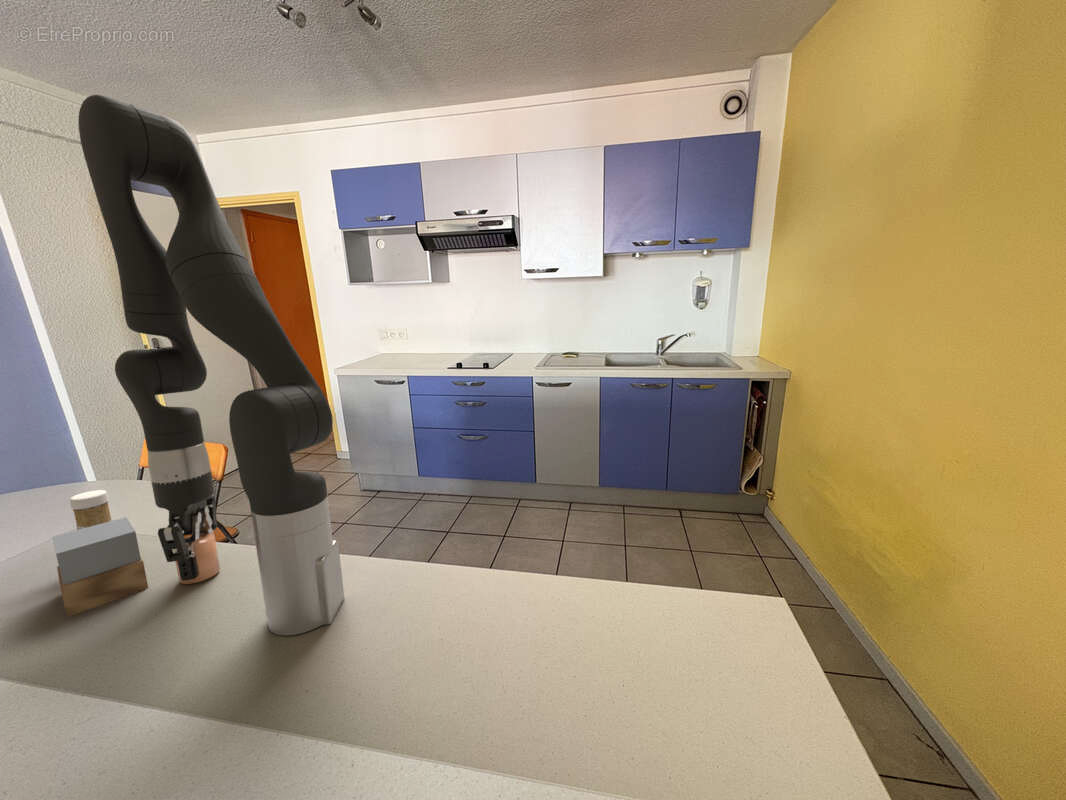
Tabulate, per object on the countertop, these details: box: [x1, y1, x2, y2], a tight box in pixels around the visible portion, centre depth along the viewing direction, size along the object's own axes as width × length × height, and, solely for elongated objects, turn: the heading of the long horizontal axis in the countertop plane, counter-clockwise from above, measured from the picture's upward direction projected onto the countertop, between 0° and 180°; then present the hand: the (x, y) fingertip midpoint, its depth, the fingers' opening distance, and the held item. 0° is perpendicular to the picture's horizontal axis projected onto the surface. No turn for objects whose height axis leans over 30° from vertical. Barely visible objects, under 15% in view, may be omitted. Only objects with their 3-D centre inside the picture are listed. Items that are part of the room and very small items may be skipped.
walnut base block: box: [56, 555, 149, 618], centre depth 68 cm, size 9×9×5 cm
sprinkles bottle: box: [69, 489, 113, 530], centre depth 75 cm, size 5×5×13 cm
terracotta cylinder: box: [172, 533, 221, 585], centre depth 71 cm, size 6×6×6 cm
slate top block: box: [52, 517, 142, 585], centre depth 68 cm, size 8×8×5 cm
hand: (198, 568), depth 72 cm, fingers closed on terracotta cylinder, 5 cm apart
